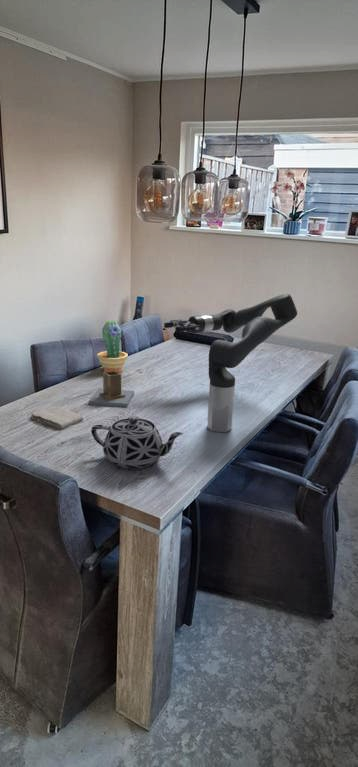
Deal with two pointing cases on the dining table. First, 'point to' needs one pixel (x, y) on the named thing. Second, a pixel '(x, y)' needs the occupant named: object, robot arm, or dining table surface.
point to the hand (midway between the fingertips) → (170, 327)
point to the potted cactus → (112, 348)
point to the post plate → (119, 402)
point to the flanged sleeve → (112, 385)
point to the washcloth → (57, 417)
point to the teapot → (133, 443)
